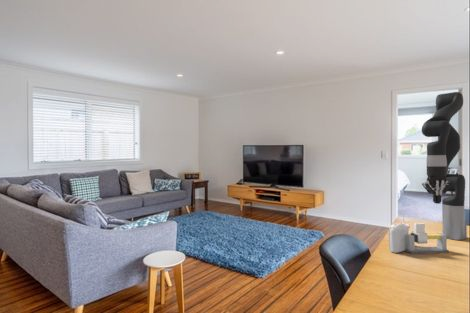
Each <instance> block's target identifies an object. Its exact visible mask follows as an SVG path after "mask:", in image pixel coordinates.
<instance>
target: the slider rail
mask: <svg viewBox="0 0 470 313" xmlns="http://www.w3.org/2000/svg"><path fill="white" fill-rule="evenodd" d="M427 240H436V241H437V243H436V244H437V245H436V246H422V247H421V246H420V247H419V246H418V247H415V243H416V242H418V235H417V234H414V233H412V232H410V234H409V233H408V234H406V250H404V252H407V253H410V255H419V254H441V253H442V254H444V253H445V254H447V253H449V249H447V242H448V241H447V240H448V238H447V237H446V235H445V234H443V232H441V233H436V234H433V233H432V234H427Z"/></svg>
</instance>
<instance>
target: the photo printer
mask: <svg viewBox="0 0 470 313" xmlns="http://www.w3.org/2000/svg"><path fill="white" fill-rule="evenodd" d="M405 224H406V223H404V224H403V222H401V223H400V222H396V223H393V224H391V226H390V227H389V228H388V242H389V251H390V252H391V253H394V254H398V253H401V252H405V250H406V234H407V227H406V225H405Z"/></svg>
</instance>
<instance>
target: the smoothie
mask: <svg viewBox="0 0 470 313" xmlns="http://www.w3.org/2000/svg"><path fill="white" fill-rule="evenodd" d="M402 224H405V225H406V227H407V234H409V233H410V232H409V231H410V228H411V227H410V225H409V224H407V223H405V215H404V216H402Z"/></svg>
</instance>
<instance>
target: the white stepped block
mask: <svg viewBox="0 0 470 313" xmlns="http://www.w3.org/2000/svg"><path fill="white" fill-rule="evenodd" d="M425 224H426V223H423V222H415V223H413V230H411V233H414V234H417V235H418V242H415V243H416V244H418V245H419V244H421V245H422V244H428V239H427V235H428V233H427V232H426V230H425V227H426V226H425Z"/></svg>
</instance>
